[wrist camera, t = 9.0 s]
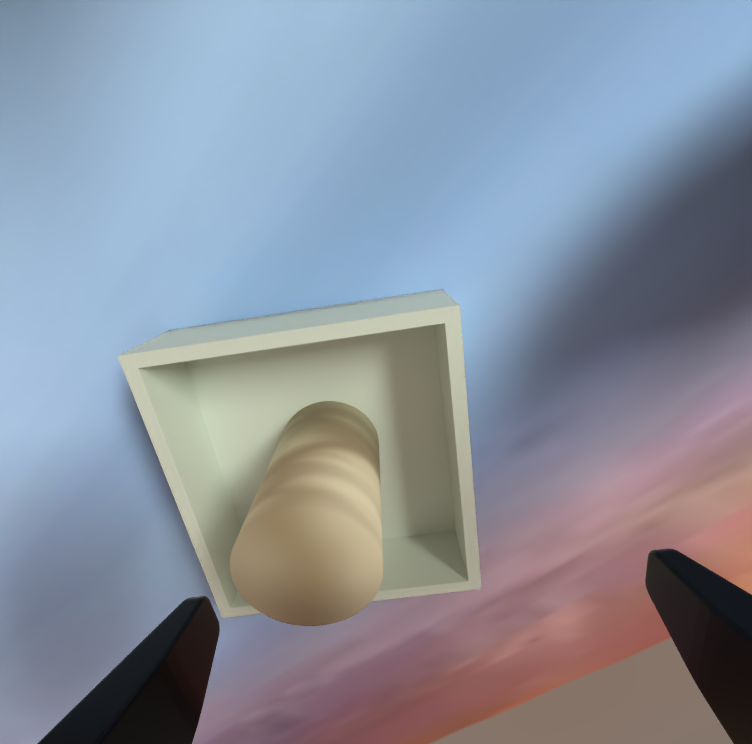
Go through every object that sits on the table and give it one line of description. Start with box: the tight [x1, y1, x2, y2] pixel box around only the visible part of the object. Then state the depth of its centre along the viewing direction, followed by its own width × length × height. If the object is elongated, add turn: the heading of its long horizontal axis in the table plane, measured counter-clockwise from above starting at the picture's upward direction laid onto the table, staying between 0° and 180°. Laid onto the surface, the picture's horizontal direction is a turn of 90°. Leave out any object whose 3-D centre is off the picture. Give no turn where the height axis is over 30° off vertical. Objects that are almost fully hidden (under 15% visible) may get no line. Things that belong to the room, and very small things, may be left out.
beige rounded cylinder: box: [230, 401, 383, 626], centre depth 17 cm, size 5×5×8 cm
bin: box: [118, 289, 481, 618], centre depth 19 cm, size 13×14×4 cm
